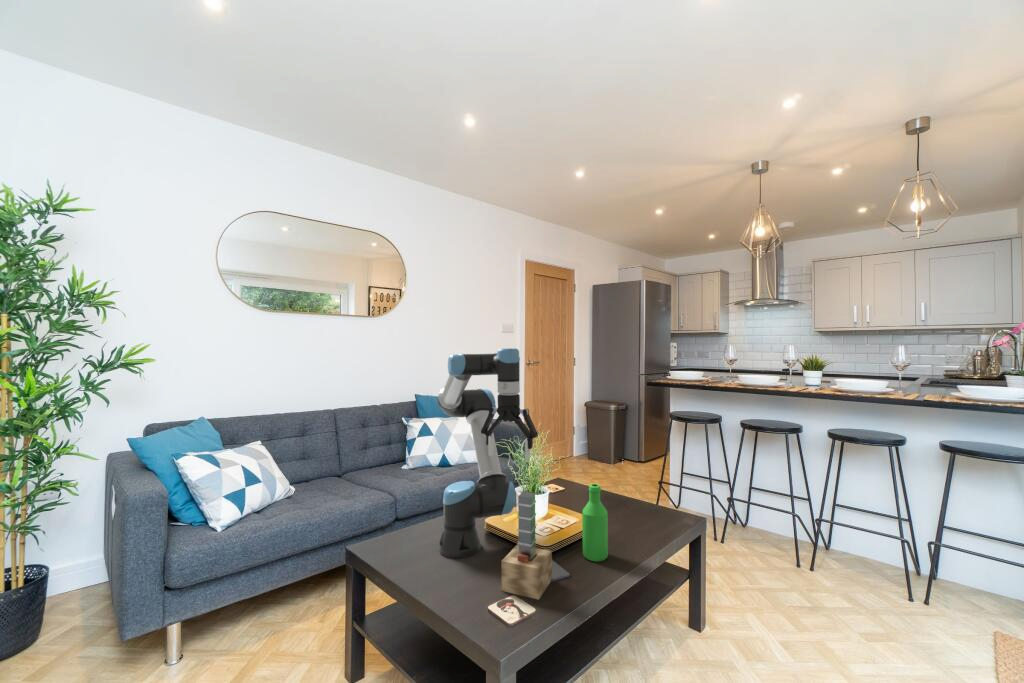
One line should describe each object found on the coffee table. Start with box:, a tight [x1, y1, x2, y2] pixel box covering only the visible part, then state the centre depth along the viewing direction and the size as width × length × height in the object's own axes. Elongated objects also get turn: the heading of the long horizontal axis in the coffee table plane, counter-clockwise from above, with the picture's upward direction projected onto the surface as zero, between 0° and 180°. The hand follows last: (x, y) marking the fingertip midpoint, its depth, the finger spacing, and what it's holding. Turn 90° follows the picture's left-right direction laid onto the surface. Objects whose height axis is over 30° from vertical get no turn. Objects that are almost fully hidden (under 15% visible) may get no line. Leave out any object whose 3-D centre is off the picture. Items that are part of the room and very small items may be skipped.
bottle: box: [581, 483, 609, 562], centre depth 155 cm, size 9×9×25 cm
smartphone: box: [550, 559, 571, 583], centre depth 147 cm, size 8×1×15 cm
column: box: [517, 491, 537, 561], centre depth 137 cm, size 4×4×22 cm
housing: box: [500, 544, 553, 601], centre depth 137 cm, size 12×12×11 cm
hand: (509, 456), depth 149 cm, fingers open, 13 cm apart
